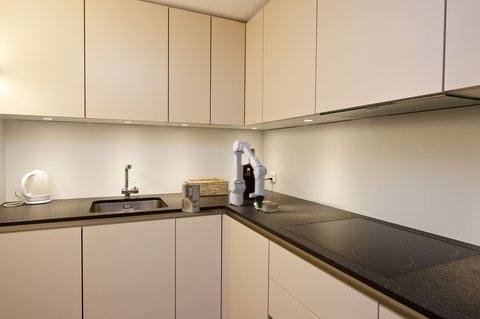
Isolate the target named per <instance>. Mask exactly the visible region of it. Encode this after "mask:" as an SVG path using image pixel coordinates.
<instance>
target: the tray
mask: <svg viewBox="0 0 480 319" xmlns="http://www.w3.org/2000/svg"><path fill="white" fill-rule="evenodd" d="M255 208H256V209H260V210H263V211H267V205H263V204H262V205H261V208H258V207H257V203H255ZM255 208H254V209H255Z"/></svg>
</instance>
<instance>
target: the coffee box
mask: <svg viewBox="0 0 480 319" xmlns="http://www.w3.org/2000/svg"><path fill="white" fill-rule="evenodd" d="M181 187H182V188H181V191H182V192H181V210H182V212H185V213H186V212H187V213H190V214H191V213H192V214H193V213H197V212H200V196H201V195H200V184H194V183H193V184H192V183H188V184H187V183H186V184H182V185H181Z"/></svg>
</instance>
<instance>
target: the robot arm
mask: <svg viewBox="0 0 480 319" xmlns="http://www.w3.org/2000/svg"><path fill="white" fill-rule="evenodd" d="M232 152H233V153H232V154H233V178H232V179H231V180H230V185H229V189H230V193H229V204H230V203H232V204H235V205H241V204H243V203H244V193H245V191H246V188H247V185H246V180H245V179H243V174H242V169H243V165H242V163H243V161H242V155H243V154H244V153H245V155H246V156H247V158H248V159H249V164H250V165H251V167H252V169H253V175H254V179H255V180H254V182H255V185H254V192H252V193H249V198H254V199H255V202H257V207H258V208H261V205H262V202H263V201H265V198H266V197H268V196H270V192H268V191H265V186H266V185H265V180H266V179H265V178H266V175H267V172H268V170H267V166H265V165H263V164H262V163H261V161H260V160H259V158H258V157H256V156H255V154H254V153H253V151H252V149H251V144H250V142H249V141H248V140H247V141H245V140H240V141H239V140H235V141H234V143H233V144H232ZM265 196H266V197H265Z"/></svg>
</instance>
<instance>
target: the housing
mask: <svg viewBox="0 0 480 319" xmlns="http://www.w3.org/2000/svg"><path fill="white" fill-rule="evenodd" d="M262 204H263V205H267V211H270V210H276V209H279V208H278V207H279V205H278V204H279V203H277V202H274V201H272V200H271V201H270V200H263V202H262Z"/></svg>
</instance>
